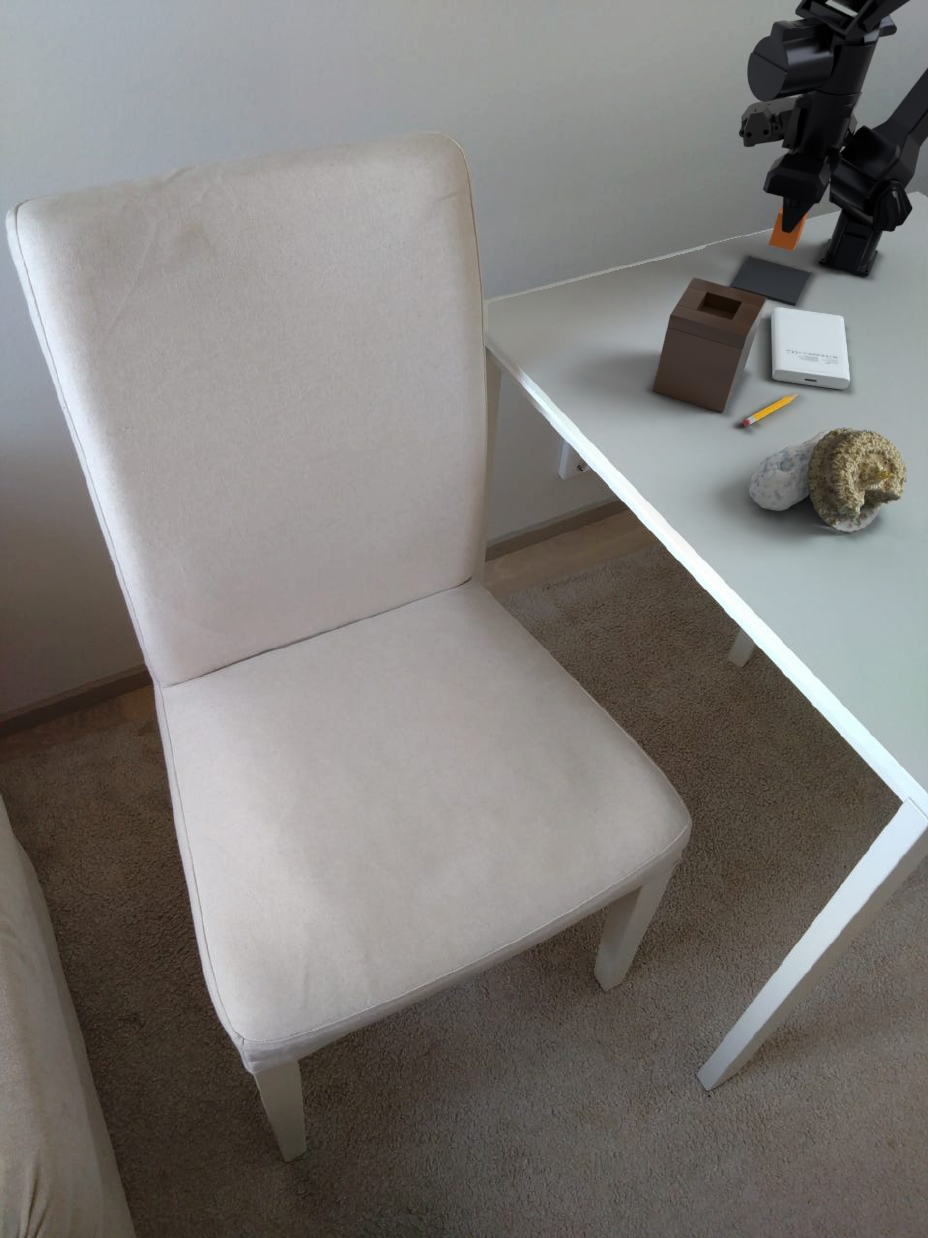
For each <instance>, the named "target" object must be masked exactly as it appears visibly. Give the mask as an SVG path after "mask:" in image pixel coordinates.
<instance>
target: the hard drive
mask: <svg viewBox="0 0 928 1238" xmlns="http://www.w3.org/2000/svg"><path fill="white" fill-rule="evenodd" d="M844 320H845V319H844V317H843V316H842V315H839V314H831V313H824V312H816V311H810V310H803V309H795V308H788V307H779V306H778V307H777V306H776V307H774V308H773V309H772V312H771V315H770V329H771V331H770V332H771V370H772V371H771V379H773V380H775V381H779V382H785V383H793V384H799V385H807V386H813V387H819V388H820V387H821V388H827V389H834V390H847V389H848V387H849V385H850V382H851V376H850V367H849V356H848V355H849V354H848V347H847V336H846V335H847V334H846V327H845V321H844Z"/></svg>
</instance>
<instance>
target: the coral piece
mask: <svg viewBox="0 0 928 1238" xmlns="http://www.w3.org/2000/svg"><path fill="white" fill-rule="evenodd" d="M833 430H834V431H830V432H829V433H828V434H825V435H824V437H823V438H822V439H820V440H819V441H818V444H817V445H816V446H815V447H814V449H813V452H812V454H811V458H810V460H809V463H808V466H809V467H808V472H807V474H808V478H807V481H808V482H807V484H808V491H809V498H810V501H811V502H812V505H813V510H815V512H816V513H817V516H818V517H819V518H821V521H823V522H824V523H826V524H827V525H828V527H831V528H833V529H835V530H836V531H840V532H842V533H853V532H858V531H860V530H863V529H865V528H867V526H869V525H870V524H871V523H872V522H873V521H874V520H875V519H876V516H877V515H878V514H879V512H880V509H881V508H882V506H883V504H890V502H893V501H895V502H897V501H898V500H901V499H902V494H903V493H904V492H905V483H906V482H908V479H907V478H908V475H907V474H905V473H906V472H907V466H906V464H907V463H906V462H904V461H903V457H902V456H903V454H902V453H901V452H900V451H899V450H898V447H897V446H895V445H894V443H893V441H892V440H889V439H888V438H887V437H886V436H884V435H882V434H879V433H878V432H876V431H874V430H868V429H862V430H858V429H857V430H856V429H853V428H851V427H848V428H847V427H841V428H838V427H837V428H835V429H833Z"/></svg>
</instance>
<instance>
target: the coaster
mask: <svg viewBox="0 0 928 1238" xmlns="http://www.w3.org/2000/svg"><path fill="white" fill-rule="evenodd" d="M810 275H811V272H810V271H807V270H803V269H800V268H796V267H792V266H787V265H784V264H780V263H776V262H772V261H770V260H765V259H761V258H758V257H754V256H750V255H749V256H748V258H747V259H746V261H745V263H744V265H743V266H742V268H741V270H740V272H739V273H738V275H737V277H736V279H735V280H734V282H733V284H732V286H731V288H735V289H739V290H742V291H746V292H749V293H753V294H757V295H760V296H764V297H767V299H770V300H774V301H778V302H781V303H785V304H788V305H791V306H796V305H797V303H798V301H799V299H800V297H801V294H802V293H803V290H804V288H805V286H806V284H807V282H808V281H809V278H810Z"/></svg>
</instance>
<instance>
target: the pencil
mask: <svg viewBox="0 0 928 1238" xmlns="http://www.w3.org/2000/svg"><path fill="white" fill-rule="evenodd" d="M797 396H798V393H796V394H791V395H787V396H785V397H783V398H781V399H780V400H778V401H776V402H774V403H773V404H770V405H769V406H767V407H765V408H763V409H762V410H759V411H758V412H756V413H754V414H752V415H751V416H749V417H747V418H745V419H744V420H742V425H743V426H744V427H747V428H748V426H751V425H752V424H753V423H756V422H757V421H759V420H761V419H763V418H764V417H766V416H768V415H770V414H771V413H774V412H776V411H777V410H778V409H781V408H782V407H784V406H786V405H788V404H790V403H791V402H792V401H793V400H794V399H795V398H796V397H797Z"/></svg>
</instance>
